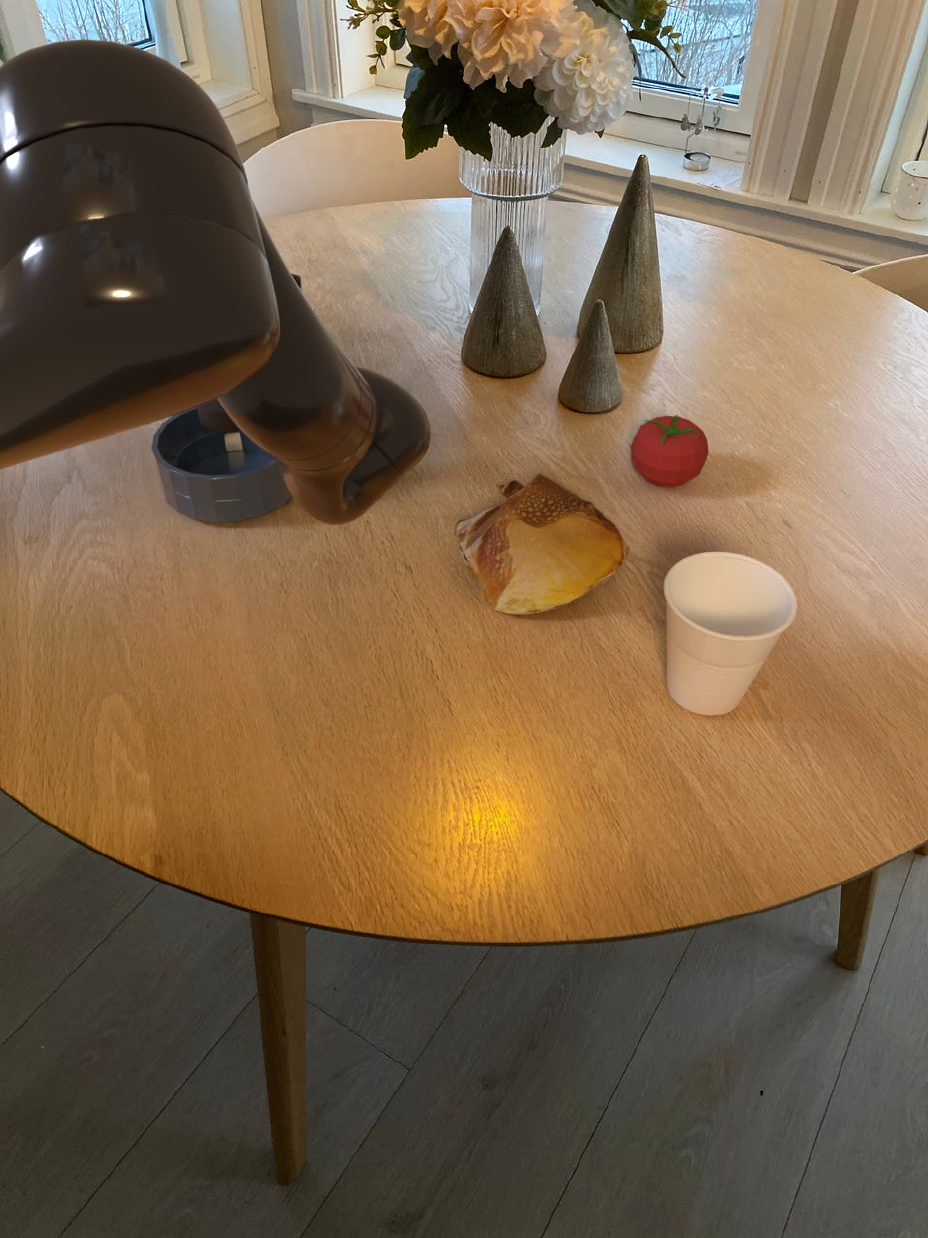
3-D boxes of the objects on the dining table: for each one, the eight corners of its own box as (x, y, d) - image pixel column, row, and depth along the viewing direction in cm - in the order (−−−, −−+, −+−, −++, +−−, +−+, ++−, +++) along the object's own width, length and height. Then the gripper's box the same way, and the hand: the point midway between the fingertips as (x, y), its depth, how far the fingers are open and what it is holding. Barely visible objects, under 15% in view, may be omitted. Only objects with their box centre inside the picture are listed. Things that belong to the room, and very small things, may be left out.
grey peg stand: (187, 423, 93) (150, 261, 82) (224, 394, 97) (194, 236, 86) (238, 438, 91) (208, 274, 80) (274, 408, 95) (250, 248, 84)
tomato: (613, 483, 101) (622, 420, 95) (645, 448, 105) (656, 387, 100) (683, 509, 98) (697, 445, 92) (713, 473, 102) (728, 410, 97)
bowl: (141, 519, 95) (127, 469, 91) (194, 441, 105) (184, 392, 101) (278, 536, 94) (270, 486, 89) (319, 455, 104) (314, 406, 100)
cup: (779, 676, 81) (814, 578, 73) (741, 755, 75) (774, 657, 67) (669, 633, 85) (691, 535, 77) (624, 706, 78) (643, 607, 71)
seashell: (666, 535, 88) (551, 584, 79) (638, 595, 93) (527, 647, 84) (546, 437, 95) (429, 471, 87) (526, 497, 100) (414, 535, 92)
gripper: (342, 282, 75) (261, 208, 86) (169, 322, 70) (106, 239, 81) (349, 369, 80) (272, 289, 91) (189, 412, 75) (127, 322, 86)
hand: (194, 266), depth 86 cm, fingers closed on grey peg stand
